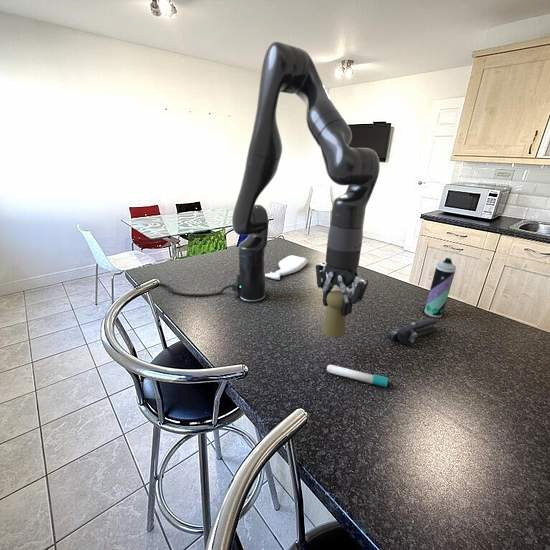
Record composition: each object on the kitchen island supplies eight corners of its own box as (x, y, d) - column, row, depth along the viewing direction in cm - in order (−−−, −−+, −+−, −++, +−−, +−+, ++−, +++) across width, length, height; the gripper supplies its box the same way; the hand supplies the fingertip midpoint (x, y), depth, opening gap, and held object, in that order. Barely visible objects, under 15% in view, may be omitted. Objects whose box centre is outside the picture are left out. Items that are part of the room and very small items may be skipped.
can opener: (403, 351, 80) (407, 335, 78) (384, 338, 86) (387, 321, 84) (444, 335, 88) (449, 319, 86) (424, 323, 94) (428, 308, 91)
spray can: (421, 309, 102) (435, 255, 94) (436, 308, 102) (451, 255, 94) (430, 317, 97) (445, 261, 89) (445, 317, 97) (462, 261, 89)
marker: (325, 374, 72) (326, 366, 71) (327, 367, 74) (328, 360, 73) (386, 389, 68) (388, 382, 67) (386, 382, 70) (388, 375, 69)
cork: (345, 339, 72) (351, 300, 67) (320, 336, 73) (324, 297, 68) (345, 326, 77) (350, 289, 73) (322, 323, 78) (326, 286, 74)
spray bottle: (308, 264, 138) (282, 283, 119) (288, 259, 143) (260, 277, 124) (309, 258, 136) (282, 277, 118) (289, 254, 142) (260, 271, 123)
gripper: (309, 239, 68) (304, 303, 75) (361, 257, 58) (350, 328, 65) (330, 234, 73) (324, 294, 80) (381, 249, 63) (369, 317, 70)
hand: (336, 309), depth 72 cm, fingers closed on cork, 5 cm apart
